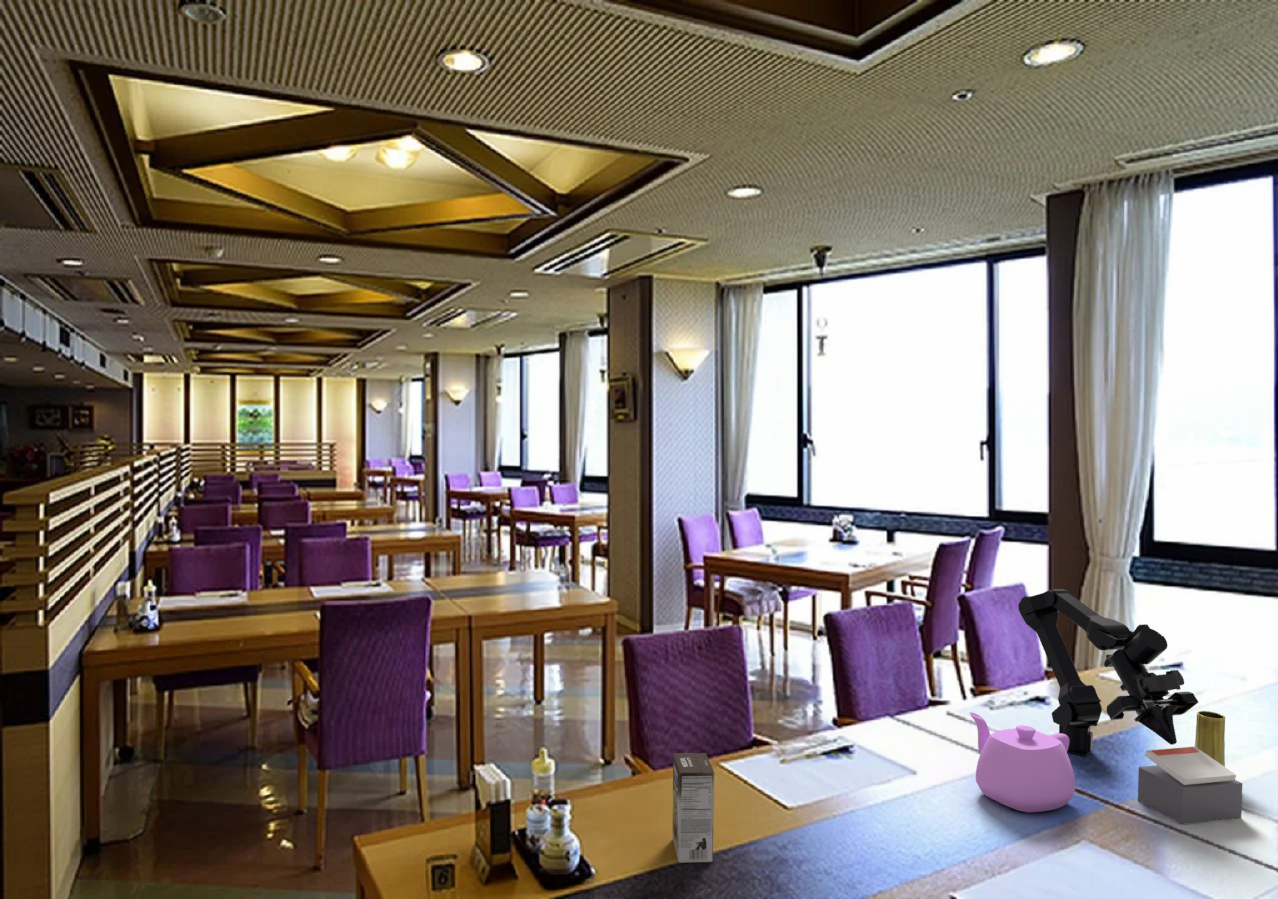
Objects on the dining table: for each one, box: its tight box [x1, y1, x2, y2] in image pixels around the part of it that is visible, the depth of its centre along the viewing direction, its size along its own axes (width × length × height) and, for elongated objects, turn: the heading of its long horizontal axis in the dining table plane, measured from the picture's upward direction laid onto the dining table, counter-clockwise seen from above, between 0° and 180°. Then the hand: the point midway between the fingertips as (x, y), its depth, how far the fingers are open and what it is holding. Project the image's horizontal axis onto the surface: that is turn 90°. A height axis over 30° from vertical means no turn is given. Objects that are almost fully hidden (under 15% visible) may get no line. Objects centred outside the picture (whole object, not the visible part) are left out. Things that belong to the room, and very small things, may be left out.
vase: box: [1194, 710, 1226, 767], centre depth 191 cm, size 6×6×14 cm
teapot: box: [968, 712, 1076, 814], centre depth 182 cm, size 23×21×15 cm
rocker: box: [1144, 746, 1237, 785], centre depth 175 cm, size 10×12×1 cm
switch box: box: [1137, 764, 1243, 825], centre depth 175 cm, size 11×14×7 cm
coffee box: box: [672, 752, 715, 864], centre depth 156 cm, size 9×6×16 cm
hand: (1174, 743), depth 179 cm, fingers closed
